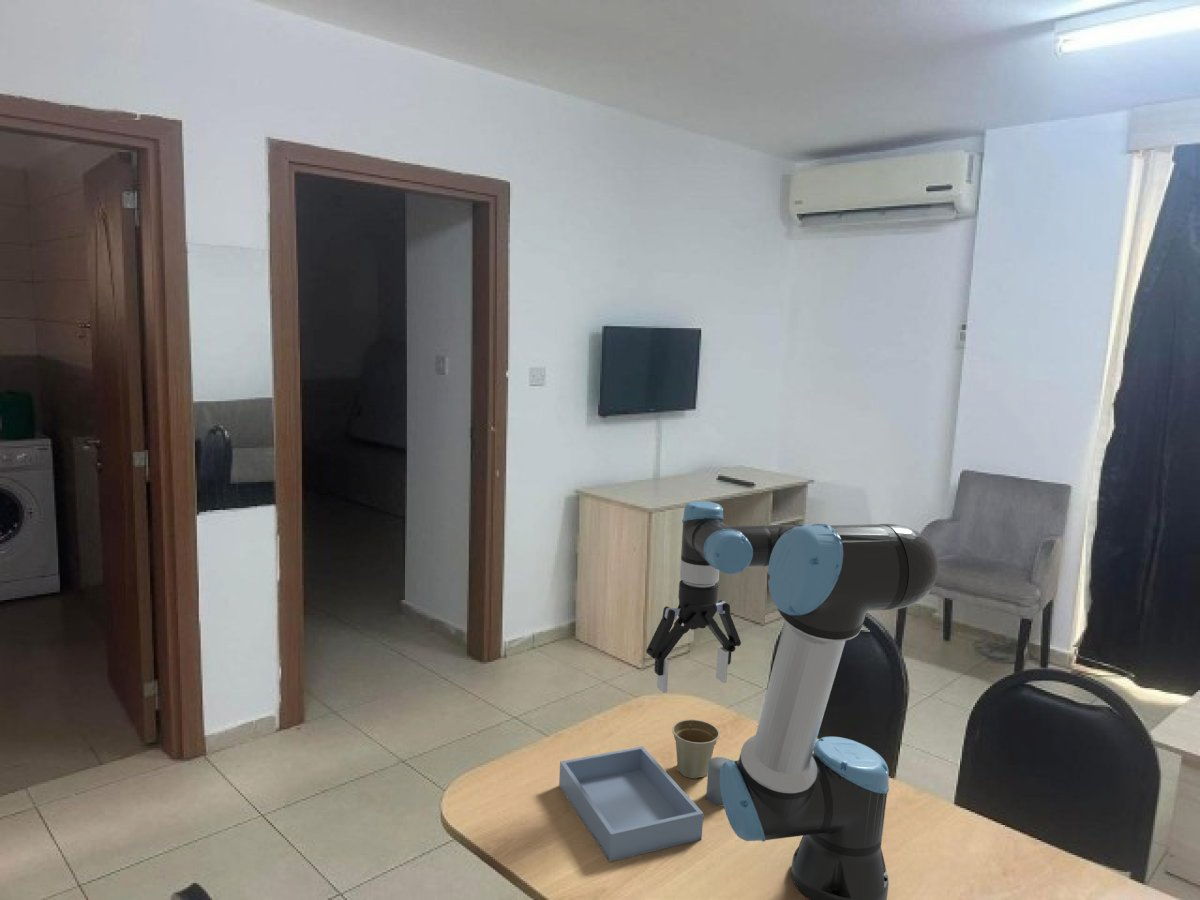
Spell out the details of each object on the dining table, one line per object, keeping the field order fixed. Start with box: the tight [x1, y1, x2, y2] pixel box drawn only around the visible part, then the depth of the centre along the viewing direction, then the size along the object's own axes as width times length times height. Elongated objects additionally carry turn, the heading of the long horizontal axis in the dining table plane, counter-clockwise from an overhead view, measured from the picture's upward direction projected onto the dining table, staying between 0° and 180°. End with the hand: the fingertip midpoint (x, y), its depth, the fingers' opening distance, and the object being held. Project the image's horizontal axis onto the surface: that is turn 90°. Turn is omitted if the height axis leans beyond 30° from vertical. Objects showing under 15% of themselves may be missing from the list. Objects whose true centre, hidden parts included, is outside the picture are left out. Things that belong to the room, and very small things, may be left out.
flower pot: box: [671, 719, 721, 779], centre depth 165 cm, size 9×9×9 cm
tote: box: [558, 746, 704, 862], centre depth 150 cm, size 24×18×5 cm
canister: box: [705, 756, 731, 807], centre depth 156 cm, size 5×5×7 cm
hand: (692, 684), depth 163 cm, fingers open, 13 cm apart
